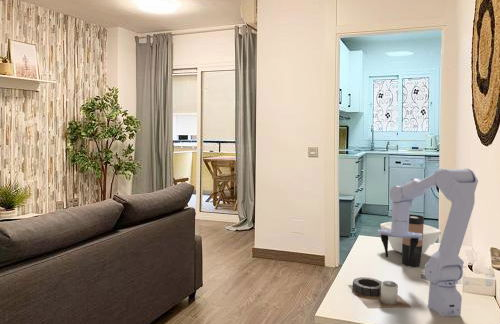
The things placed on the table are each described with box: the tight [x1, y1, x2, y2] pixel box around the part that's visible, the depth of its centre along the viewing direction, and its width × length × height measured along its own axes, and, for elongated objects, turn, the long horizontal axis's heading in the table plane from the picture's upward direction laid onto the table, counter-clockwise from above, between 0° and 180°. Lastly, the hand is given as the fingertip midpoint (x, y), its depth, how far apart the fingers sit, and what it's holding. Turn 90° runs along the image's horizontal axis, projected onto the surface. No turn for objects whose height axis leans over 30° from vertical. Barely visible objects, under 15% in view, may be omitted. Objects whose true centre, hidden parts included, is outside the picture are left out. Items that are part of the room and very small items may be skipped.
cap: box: [380, 280, 399, 305], centre depth 132 cm, size 5×5×6 cm
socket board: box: [347, 276, 412, 309], centre depth 136 cm, size 18×14×4 cm
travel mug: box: [401, 213, 425, 268], centre depth 171 cm, size 8×8×20 cm
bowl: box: [379, 221, 442, 255], centre depth 188 cm, size 22×22×12 cm
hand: (398, 257), depth 148 cm, fingers open, 7 cm apart
